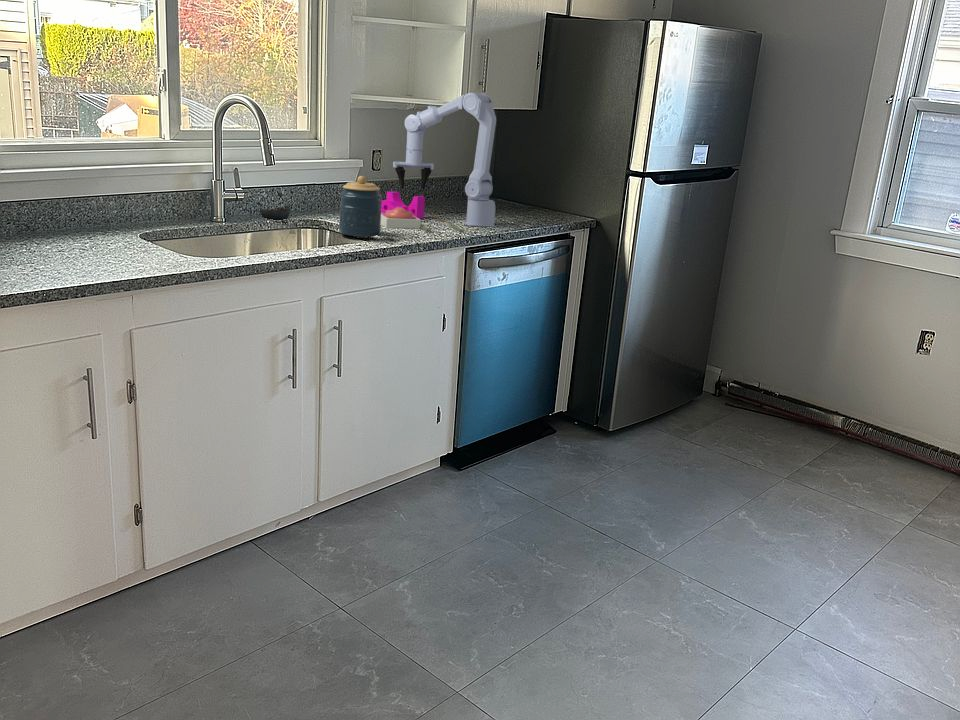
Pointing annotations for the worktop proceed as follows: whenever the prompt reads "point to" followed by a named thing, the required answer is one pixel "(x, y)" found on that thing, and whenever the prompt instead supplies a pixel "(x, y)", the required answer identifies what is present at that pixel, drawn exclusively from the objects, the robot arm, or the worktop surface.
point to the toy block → (395, 201)
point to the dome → (399, 214)
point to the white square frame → (400, 222)
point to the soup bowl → (276, 213)
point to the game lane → (444, 223)
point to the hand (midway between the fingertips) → (412, 188)
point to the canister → (360, 209)
